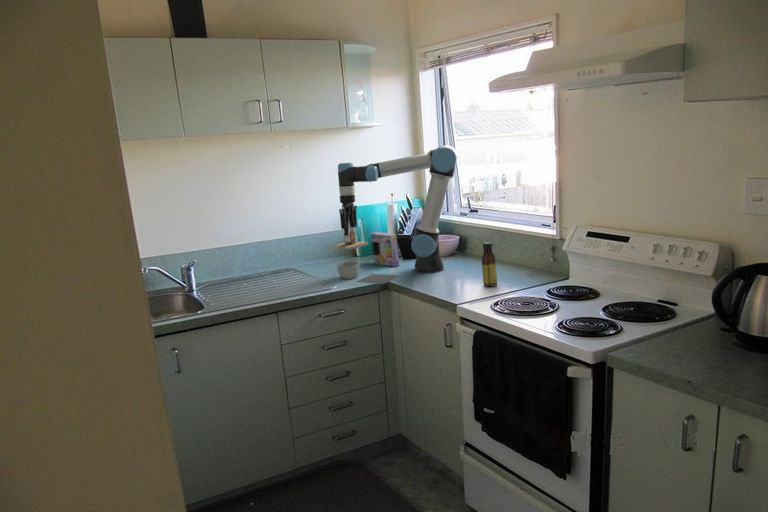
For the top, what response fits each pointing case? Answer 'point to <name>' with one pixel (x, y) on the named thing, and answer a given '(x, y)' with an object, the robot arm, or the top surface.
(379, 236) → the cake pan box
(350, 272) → the teacup
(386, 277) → the mat
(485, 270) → the sauce bottle
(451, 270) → the top surface
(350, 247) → the lid
